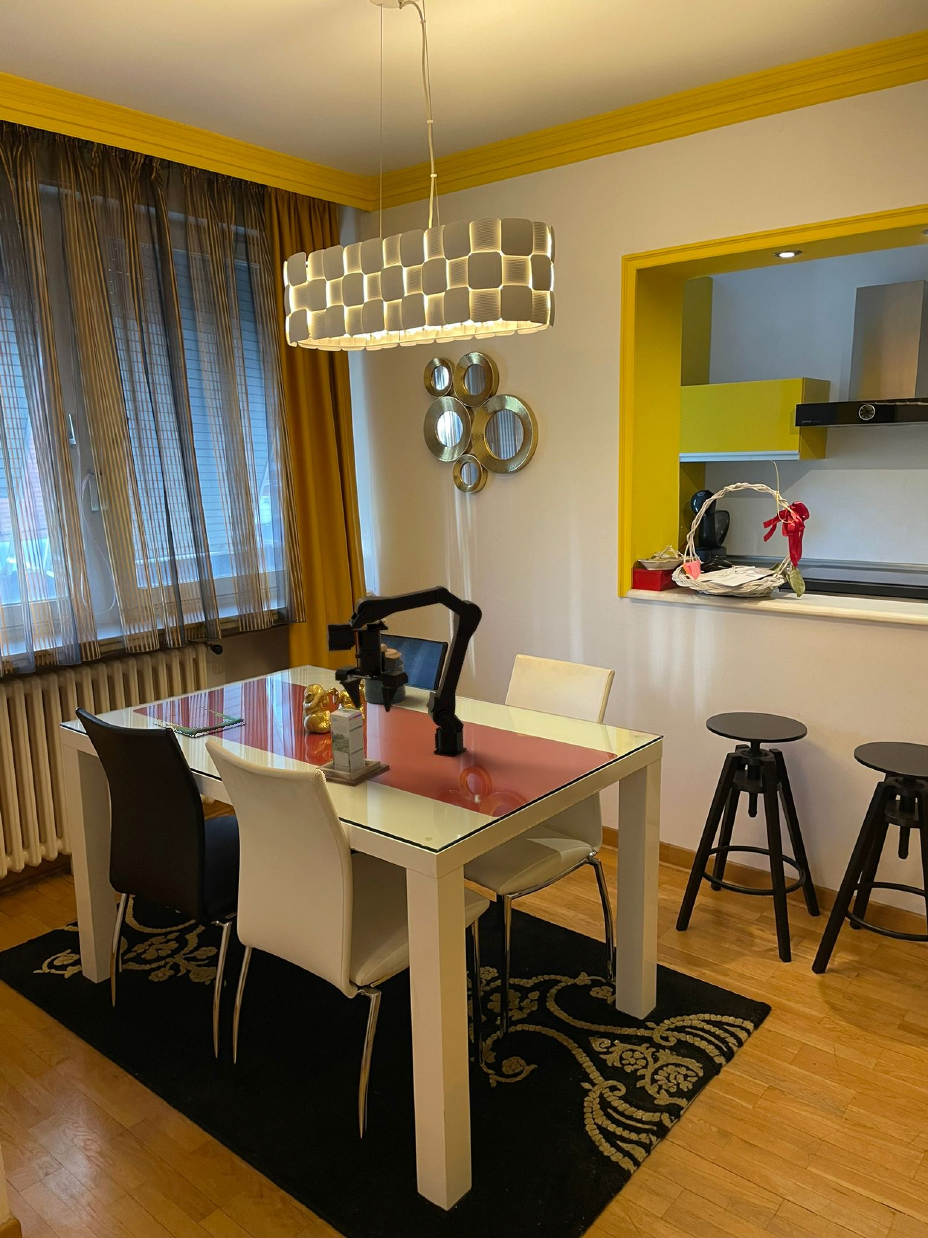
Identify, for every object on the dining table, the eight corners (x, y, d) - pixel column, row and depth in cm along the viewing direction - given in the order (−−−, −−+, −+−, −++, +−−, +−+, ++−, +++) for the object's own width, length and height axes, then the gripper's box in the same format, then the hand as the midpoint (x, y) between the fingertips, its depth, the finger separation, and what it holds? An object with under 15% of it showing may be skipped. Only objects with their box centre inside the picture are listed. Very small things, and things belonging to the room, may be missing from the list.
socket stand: (389, 768, 224) (389, 760, 224) (354, 786, 212) (353, 778, 212) (343, 759, 231) (343, 752, 231) (307, 777, 219) (307, 769, 219)
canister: (390, 691, 297) (388, 638, 294) (414, 699, 287) (412, 643, 284) (356, 699, 289) (354, 644, 286) (380, 707, 279) (377, 650, 276)
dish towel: (193, 740, 253) (192, 732, 252) (151, 725, 269) (150, 717, 268) (246, 726, 265) (245, 718, 265) (203, 712, 281) (202, 704, 281)
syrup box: (366, 767, 222) (363, 709, 220) (350, 775, 217) (347, 716, 215) (347, 764, 225) (344, 706, 223) (332, 771, 220) (328, 713, 218)
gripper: (419, 645, 228) (421, 706, 230) (358, 639, 237) (362, 698, 240) (393, 654, 218) (396, 717, 221) (331, 648, 228) (335, 708, 230)
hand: (372, 709), depth 228 cm, fingers open, 9 cm apart
